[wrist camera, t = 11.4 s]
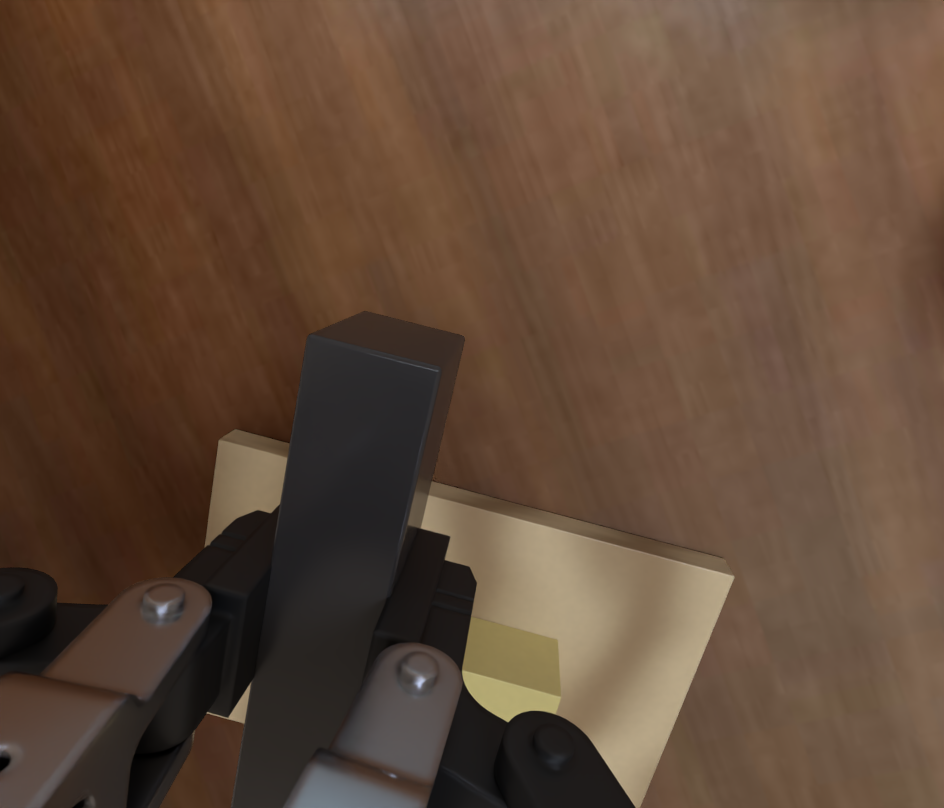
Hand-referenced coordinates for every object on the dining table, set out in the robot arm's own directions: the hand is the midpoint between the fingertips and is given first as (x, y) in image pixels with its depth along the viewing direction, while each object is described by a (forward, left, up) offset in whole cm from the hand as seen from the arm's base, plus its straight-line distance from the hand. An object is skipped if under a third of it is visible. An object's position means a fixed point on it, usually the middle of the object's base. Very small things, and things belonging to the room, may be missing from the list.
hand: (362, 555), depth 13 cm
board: (+2, -11, -14) cm, 18 cm away
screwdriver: (0, -5, 0) cm, 5 cm away
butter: (+4, -11, -12) cm, 17 cm away
